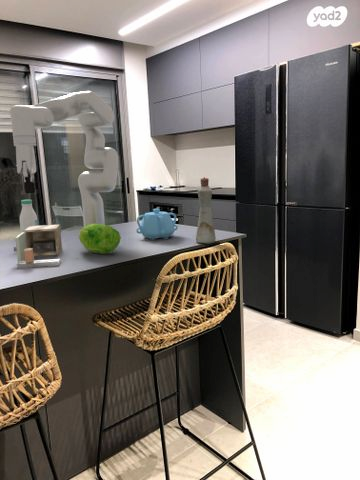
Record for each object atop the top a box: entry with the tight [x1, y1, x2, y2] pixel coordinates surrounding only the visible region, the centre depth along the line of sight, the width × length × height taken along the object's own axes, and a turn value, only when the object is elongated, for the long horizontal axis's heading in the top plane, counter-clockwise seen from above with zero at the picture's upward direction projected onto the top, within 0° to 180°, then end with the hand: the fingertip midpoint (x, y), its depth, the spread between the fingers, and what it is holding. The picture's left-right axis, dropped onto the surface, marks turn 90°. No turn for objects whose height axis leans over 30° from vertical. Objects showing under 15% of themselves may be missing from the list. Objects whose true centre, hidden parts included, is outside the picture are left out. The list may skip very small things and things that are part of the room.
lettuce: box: [78, 224, 122, 255], centre depth 154 cm, size 13×23×12 cm, turn 44°
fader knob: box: [24, 248, 35, 263], centre depth 138 cm, size 2×3×5 cm
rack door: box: [13, 231, 27, 264], centre depth 146 cm, size 12×2×10 cm, turn 9°
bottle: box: [195, 176, 217, 245], centre depth 166 cm, size 9×9×28 cm
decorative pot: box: [136, 208, 179, 241], centre depth 182 cm, size 16×16×14 cm
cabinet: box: [24, 224, 63, 257], centre depth 158 cm, size 12×10×10 cm
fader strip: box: [16, 258, 61, 269], centre depth 139 cm, size 14×4×2 cm, turn 99°
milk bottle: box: [19, 199, 39, 234], centre depth 177 cm, size 8×8×20 cm
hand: (30, 193), depth 143 cm, fingers closed
